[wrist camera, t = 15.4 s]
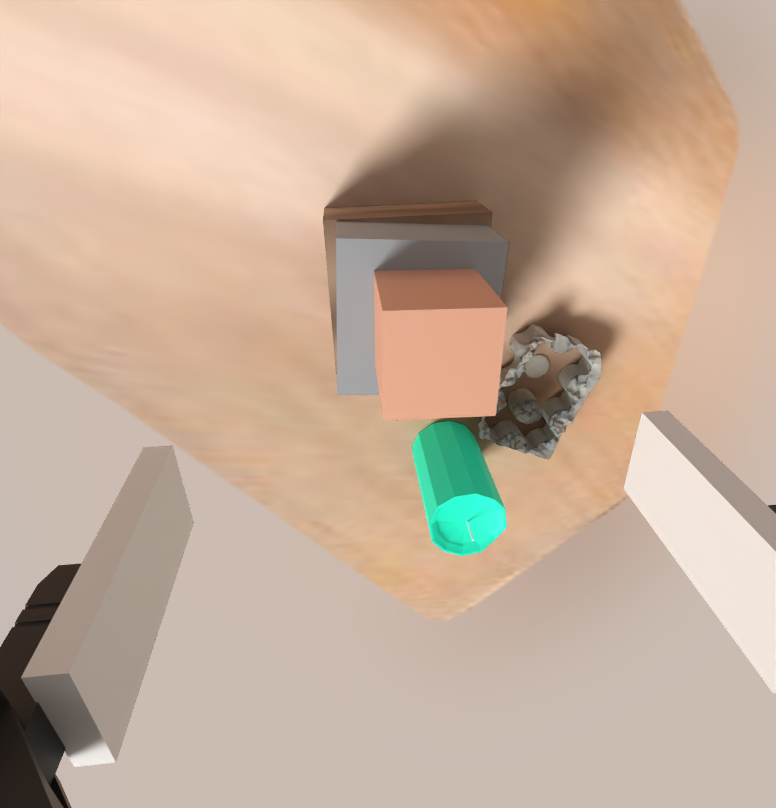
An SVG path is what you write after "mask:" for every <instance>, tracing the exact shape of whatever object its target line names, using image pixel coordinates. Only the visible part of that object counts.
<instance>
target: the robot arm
mask: <svg viewBox="0 0 776 808" xmlns="http://www.w3.org/2000/svg"><path fill="white" fill-rule="evenodd" d="M624 490H625V491H626V492H627V494H628V495H629V497H630V498H631V499H632V501H633V502H634V503H635V505H636V506H637V508H638V509H639V510H640V512H641V513H642V514H643V516H644V517H645V518H646V520H647V521H648V523H649V524H650V525H651V527H652V528H653V529H654V531H655V532H656V534H657V535H658V536H659V538H660V539H661V540H662V542H663V543H664V544H665V546H666V547H667V549H668V550H669V551H670V553H671V554H672V555H673V557H674V558H675V559H676V561H677V562H678V564H679V565H680V566H681V568H682V569H683V570H684V572H685V573H686V575H687V576H688V577H689V579H690V580H691V581H692V583H693V584H694V586H695V587H696V588H697V590H698V591H699V592H700V594H701V595H702V596H703V598H704V599H705V601H706V602H707V603H708V605H709V606H710V607H711V609H712V610H713V611H714V613H715V614H716V616H717V617H718V618H719V620H720V621H721V622H722V624H723V625H724V627H725V628H726V629H727V631H728V632H729V633H730V635H731V636H732V638H733V639H734V640H735V642H736V643H737V644H738V646H739V647H740V648H741V650H742V651H743V653H744V654H745V655H746V657H747V658H748V659H749V661H750V662H751V663H752V665H753V666H754V667H755V669H756V670H757V672H758V673H759V674H760V676H761V677H762V679H763V680H764V681H765V683H766V684H767V685H768V687H769V688H770V689H771V691H772V692H773V693H776V505H769V506H767V505H766V504H765V503H764V502H763V501H762V500H761V499H760V498H759V497H758V496H757V495H756V494H755V493H754V492H753V491H752V490H751V489H749V488H748V487H747V486H746V485H745V484H744V483H743V482H742V481H741V480H740V479H739V478H738V477H737V476H736V475H735V474H734V473H733V472H732V471H731V470H730V469H729V468H727V467H726V466H725V465H724V464H723V463H722V462H721V461H720V460H719V459H718V458H717V457H716V456H715V455H714V454H713V453H712V452H711V451H710V450H709V449H708V448H707V447H705V446H704V445H703V444H702V443H701V442H700V441H699V440H698V439H697V438H696V437H695V436H694V435H693V434H692V433H691V432H690V431H688V430H687V428H685V426H683V425H682V424H681V423H680V422H679V421H678V420H677V419H676V418H675V417H674V416H673V415H672V414H671V413H670V412H669V411H657V412H643V413H642V415H641V419H640V423H639V428H638V432H637V436H636V440H635V444H634V448H633V452H632V456H631V460H630V465H629V469H628V473H627V477H626V481H625V485H624ZM193 523H194V522H193V518H192V515H191V512H190V508H189V504H188V501H187V497H186V493H185V489H184V486H183V482H182V478H181V475H180V471H179V467H178V464H177V460H176V457H175V453H174V449H173V446H159V447H145V448H143V450H142V452H141V453H140V455H139V457H138V459H137V461H136V463H135V464H134V467H133V468H132V470H131V472H130V474H129V476H128V478H127V479H126V481H125V483H124V486H123V487H122V489H121V491H120V493H119V495H118V496H117V498H116V500H115V502H114V504H113V506H112V508H111V510H110V511H109V513H108V515H107V517H106V519H105V521H104V523H103V525H102V526H101V529H100V530H99V532H98V534H97V536H96V538H95V540H94V541H93V543H92V545H91V547H90V549H89V551H88V553H87V555H86V556H85V558H84V560H83V562H82V564H71V565H59V566H57V567H56V568H55V569H54V570H53V571H52V572H51V573H50V574H49V575H48V576H47V577H45V578H44V579H43V580H42V581H41V582H40V583H39V584H38V585H37V587H36V588H35V590H34V592H33V593H32V595H31V597H30V598H29V600H28V602H27V604H26V605H25V606H26V607H25V610H22V612H21V614H20V615H19V617H18V619H17V620H16V622H15V627H12V629H11V630H10V632H9V634H8V635H7V637H6V639H5V640H4V642H3V644H2V646H1V647H0V808H71V806H70V803H69V801H68V799H67V797H66V794H65V792H64V790H63V787H62V785H61V783H60V781H59V779H58V778H57V776H56V774H55V773H56V770H57V768H58V765H59V763H60V761H61V758H62V756H63V753H64V751H65V752H66V754H67V756H68V757H69V759H70V761H71V762H72V764H73V765H74V767H78V766H87V765H97V764H106V763H116V761H117V758H118V754H119V751H120V748H121V745H122V742H123V739H124V736H125V732H126V730H127V726H128V724H129V721H130V717H131V714H132V711H133V708H134V705H135V702H136V699H137V696H138V693H139V690H140V687H141V683H142V680H143V677H144V674H145V671H146V668H147V665H148V662H149V659H150V655H151V653H152V649H153V646H154V643H155V640H156V637H157V634H158V631H159V628H160V625H161V622H162V618H163V615H164V612H165V609H166V606H167V603H168V600H169V597H170V594H171V590H172V588H173V584H174V582H175V579H176V575H177V572H178V569H179V566H180V563H181V560H182V557H183V554H184V550H185V548H186V544H187V542H188V538H189V535H190V532H191V529H192V526H193Z"/></svg>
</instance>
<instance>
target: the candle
mask: <svg viewBox="0 0 776 808" xmlns="http://www.w3.org/2000/svg"><path fill="white" fill-rule="evenodd" d="M412 450H413V456H414V462H415V467H416V471H417V476H418V480H419V485H420V489H421V494H422V498H423V503H424V507H425V512H426V516H427V521H428V526H429V530H430V535H431V539H432V542H433V543H434V544H435V545H437V546H438V547H439V548H440V549H441V550H443V551H445V552H448V553H452V554H456V555H460V556H464V555H469V554H474V553H478V552H482V551H483V550H484V549H485V548H486V547H487V546H489V545H490V544H491V543H492V542H493V541H494V540H495V539H497V537H498V536H499V535H500V534H501V533H502V532H503V531H504V529H505V528H506V527H507V523H506V513H505V507H504V505H503V503H502V500H501V498H500V496H499V493H498V491H497V488H496V486H495V484H494V481H493V479H492V476H491V474H490V472H489V469H488V467H487V464H486V462H485V460H484V457H483V455H482V452H481V450H480V448H479V445H478V443H477V441H476V438H475V436H474V435H473V434H472V433H471V431H470V430H469V429H468V428H467V427H466V426H465V425H463V424H459V423H456V422H453V421H444V422H438V423H433V424H431V425H430V426H428V427H427V428H425V429H424V430H423V431H421V432H420V433H419V434H418V436H417V438H416V440H415V442H414V444H413V446H412Z"/></svg>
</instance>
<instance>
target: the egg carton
mask: <svg viewBox="0 0 776 808" xmlns="http://www.w3.org/2000/svg"><path fill="white" fill-rule="evenodd" d="M543 342H545V343H546V344H547V345H548V346H549V347H550V348H551V349H552V350H553V351H554V352H557V353H564V352H568V351H570V350H572V349H573V348H574V347H576V348H577V350H578V351H579V352H580V353H581V354H582V357H581V359H580V361H579V362H578V364H569V365H567V366H565V367H564V368H563V369H562V370H561V371H560V373H559V376H558V380H559V383H560V384H561V386H562V387H563V388H564V391H563V392H562V394H561V396H560V397H554V398H550V399H548V400H547V401H545V403H544V404H543V405H542V407H541V406H540V404H539V402H538V401H537V399H536V398H535V396H534V395H533V394H532V392H531V391H530V390H528V389H526V388H519V389H516V390H514V391H513V392H512V393H511V394H510V395H509V397H508V406H509V407H510V409H511V411H512V413H513V415H514V416H515V418H516V419H517V420H519V421H520V422H522V423H524V424H529V423H533V422H536V421H538V420H540V419H541V418H542V415H543V417H544V419H545V420H546V424H545V426H544V428H537V429H534V430H532V431H530V432H529V433H528V434H527V435H526V436H524V435H522V434H521V432H520V430H519V428H518V427H517V425H516V424H515V423H514V422H513V421H511V420H502V421H500V422H498V423H497V424H496V425H495V426H494V427H493V428H491V427H488V425H487V423H486V421H485V420H484V418H485V417H486V416H481V417H482V419H481V420H482V421H481V422H480V423H479V424H478V427H479V429H480V433H479V436H478V437H479V438H480V439H482V440H485V439H487V440H491V441H493V442H495V443H496V444H498V445H500V446H507V447H509V448H512V449H514V450H518V451H521V452H523V453H532V454H534V455H536V456H538V457H541V458H545V459H550V458H551V456H552V453H553V451H554V449H555V447H556V445H557V444H558V442H559V438H560V436H561V434H562V433H563V432H565V431H566V426H567V425H568V424H571V423H573V420H574V418H575V415H576V413H577V412H578V410H579V408H580V407H581V406H582V404H583V402H584V400H585V398H586V396H587V395H588V394H589V392H590V391H591V390H592V388H593V387H594V386H595V385H596V384H597V382H598V381H599V379H600V376H601V373H602V365H601V354H600V352H598V351H597V350H589V349H588V348H587V347H585V346H584V345H583V343H581V342H580V341H579V340H578V339H577V338H575V337H572V336H570V335H566V336H562V335H560V334H557V333H554V337H551V336H549V335H548V334H547V333H546V332H545V331H544V330H543V329H542V328H541V327H540V326H537V325H534V324H531V325H530V326H529V327H528V328H527V329H526V330H525V331H523V332H521V333H515V334H514V335H513V336H512V337H511V339H510V341H509V348H511V349H512V350H513V352H514V353H515V355H514V360H513V361H512V363H511V364H510V365H508V366H507V367H505V368H502V369H501V373H500V382H499V391H498V400H497V409H496V413H498V412H499V411H500V410H501V409H503V408H505V407H507V402H506V400H505V395H504V393H503V392H502V390H501V387H506V386H511V385H514V384H515V380H516V379H518V378H519V377H521V375H522V373H523V372H525V374H526V375H527V376H528V377H530V378H539V377H541V376H543V375H544V374H545V373H546V372H547V371H548V370H549V368H550V362H549V359H548V358H547V357H546V356H545V355H543V354H536V355H533V354H534V352H535V349H536V347H537V346H538V345H539V344H540V343H543Z"/></svg>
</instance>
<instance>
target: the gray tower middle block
mask: <svg viewBox="0 0 776 808" xmlns="http://www.w3.org/2000/svg"><path fill="white" fill-rule="evenodd" d="M508 248H509V242H508V241H507V240H506V239H505V238H503V237H502V236H501V235H500V234H498V233H497V232H496V231H495V230H493V229H492V228H491V227H490V226H488V225H457V224H417V223H378V222H338V221H336V290H337V395H379V389H378V382H377V375H376V368H375V330H374V271H392V270H436V269H476V270H477V271H478V273H479V274H480V275H481V276H482V277H483V279H484V280H485V281H486V282H487V283H488V285H489V286H490V287H491V288H492V289H493V290H494V292H495V293H496V294H497V295H498V296H499V298H500V299H501V296H502V289H503V283H504V276H505V269H506V262H507V255H508Z"/></svg>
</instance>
